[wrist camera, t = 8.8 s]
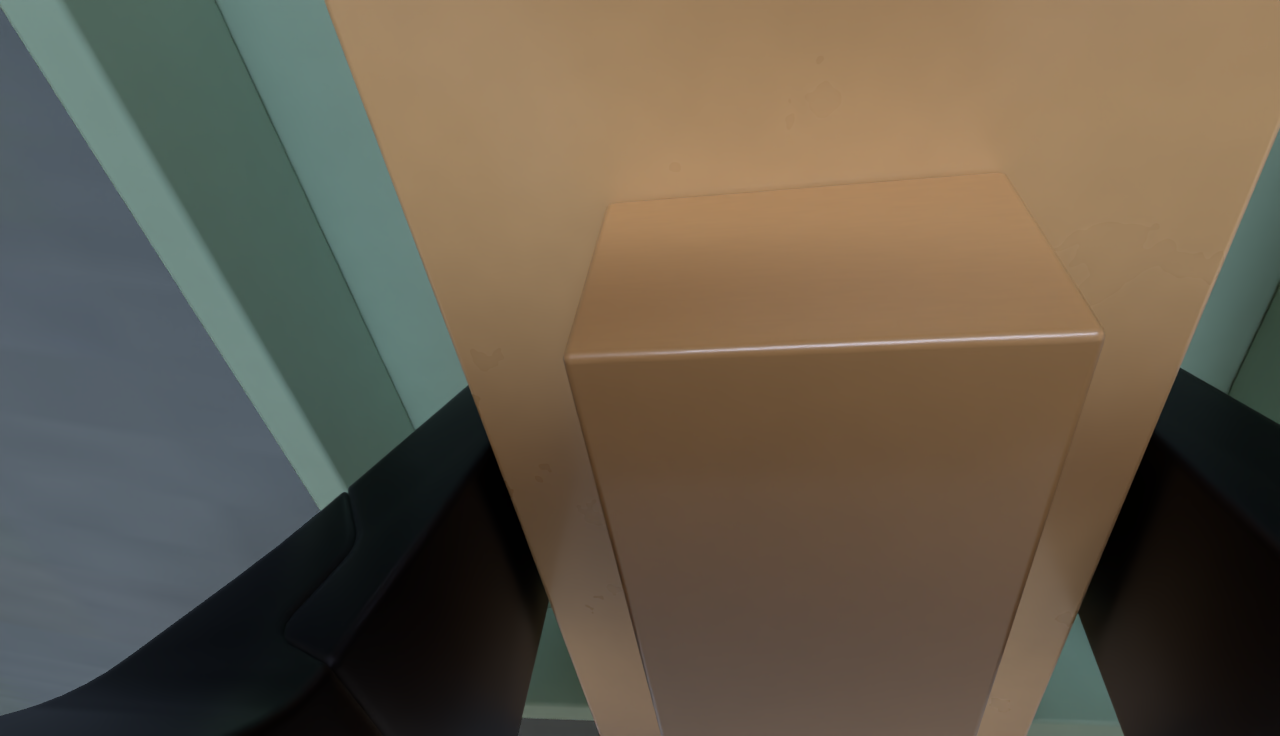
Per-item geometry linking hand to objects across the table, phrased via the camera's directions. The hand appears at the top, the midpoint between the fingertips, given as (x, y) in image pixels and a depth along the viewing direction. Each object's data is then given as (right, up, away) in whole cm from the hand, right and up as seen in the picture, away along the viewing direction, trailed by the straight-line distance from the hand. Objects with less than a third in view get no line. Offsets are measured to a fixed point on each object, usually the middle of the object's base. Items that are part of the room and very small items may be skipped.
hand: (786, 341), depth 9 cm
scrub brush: (0, +1, +1) cm, 1 cm away
